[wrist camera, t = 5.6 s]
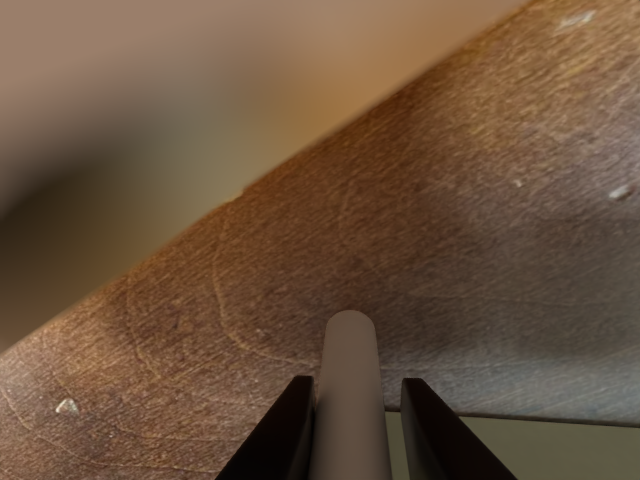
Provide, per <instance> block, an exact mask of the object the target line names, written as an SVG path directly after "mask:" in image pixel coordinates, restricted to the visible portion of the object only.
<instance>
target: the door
mask: <svg viewBox="0 0 640 480" xmlns="http://www.w3.org/2000/svg"><path fill="white" fill-rule="evenodd" d="M458 417H459V418H460V419H461V420H462V421H463V422H464V423H465V424H466V425H467V426H468V427H469V428H470V429H471V430H472V432H473V433H474V434H475V435H476V436H477V437H478V438H479V439H480V440H481V441H482V442H483V443H484V444H485V445H486V446H487V447H488V448H489V449H490V450H491V451H492V452H493V454H494V455H495V456H496V457H497V458H498V459H499V460H500V461H501V462H502V463H503V464H504V465H505V466H506V467H507V468H508V469H509V470H510V471H511V472H512V473H513V475H514V476H515V477H516V478H517V479H518V480H640V428H629V427H614V426H598V425H583V424H568V423H552V422H537V421H522V420H506V419H491V418H476V417H460V416H458ZM307 480H410V478H409V471H408V464H407V457H406V450H405V443H404V436H403V429H402V422H401V413H399V412H385V409H384V401H383V392H382V384H381V375H380V367H379V358H378V350H377V341H376V332H375V327H374V324H373V322H372V321H371V320H370V319H369V317H367V316H366V315H365V314H363V313H361V312H358V311H355V310H345V311H341V312H339V313H337V314H335V315H334V316H333V317H332V318H331V319H330V320H329V321H328V323H327V326H326V332H325V340H324V348H323V356H322V364H321V371H320V379H319V387H318V395H317V402H316V407H315V418H314V427H313V436H312V445H311V454H310V462H309V469H308V475H307Z"/></svg>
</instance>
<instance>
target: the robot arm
mask: <svg viewBox="0 0 640 480" xmlns="http://www.w3.org/2000/svg"><path fill="white" fill-rule="evenodd" d="M400 413H401V422H402V429H403V436H404V443H405V450H406V457H407V464H408V471H409V478H410V480H518V479H517V478H516V477H515V476H514V475H513V473H512V472H511V471H510V470H509V469H508V468H507V467H506V466H505V465H504V464H503V463H502V462H501V461H500V460H499V459H498V458H497V457H496V456H495V455H494V454H493V452H492V451H491V450H490V449H489V448H488V447H487V446H486V445H485V444H484V443H483V442H482V441H481V440H480V439H479V438H478V437H477V436H476V435H475V434H474V433H473V432H472V430H471V429H470V428H469V427H468V426H467V425H466V424H465V423H464V422H463V421H462V420H461V419H460V418H459V417H458V416H457V415H456V414H455V413H454V412H453V411H452V409H451V408H450V407H449V406H448V405H447V404H446V403H445V402H444V401H443V400H442V399H441V398H440V397H439V396H438V395H437V394H436V393H435V392H434V391H433V390H432V389H431V387H430V386H429V385H428V384H427V383H426V382H425V381H424V380H423V379H421V378H404V379H403V380H402V388H401V403H400ZM314 418H315V391H314V378H313V377H312V376H306V375H297V376H295V377H294V378H293V380H292V381H291V382H290V383H289V385H288V386H287V387H286V389H285V390H284V391H283V392H282V394H281V395H280V396H279V398H278V399H277V400H276V401H275V403H274V404H273V405H272V407H271V408H270V409H269V410H268V412H267V413H266V414H265V416H264V417H263V418H262V419H261V421H260V422H259V423H258V425H257V426H256V427H255V428H254V430H253V431H252V432H251V434H250V435H249V436H248V437H247V439H246V440H245V441H244V443H243V444H242V445H241V446H240V448H239V449H238V450H237V452H236V453H235V454H234V455H233V457H232V458H231V459H230V460H229V462H228V463H227V464H226V466H225V467H224V468H223V469H222V471H221V472H220V473H219V475H218V476H217V477H216V478H215V480H307V475H308V469H309V462H310V454H311V445H312V436H313V427H314Z"/></svg>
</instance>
